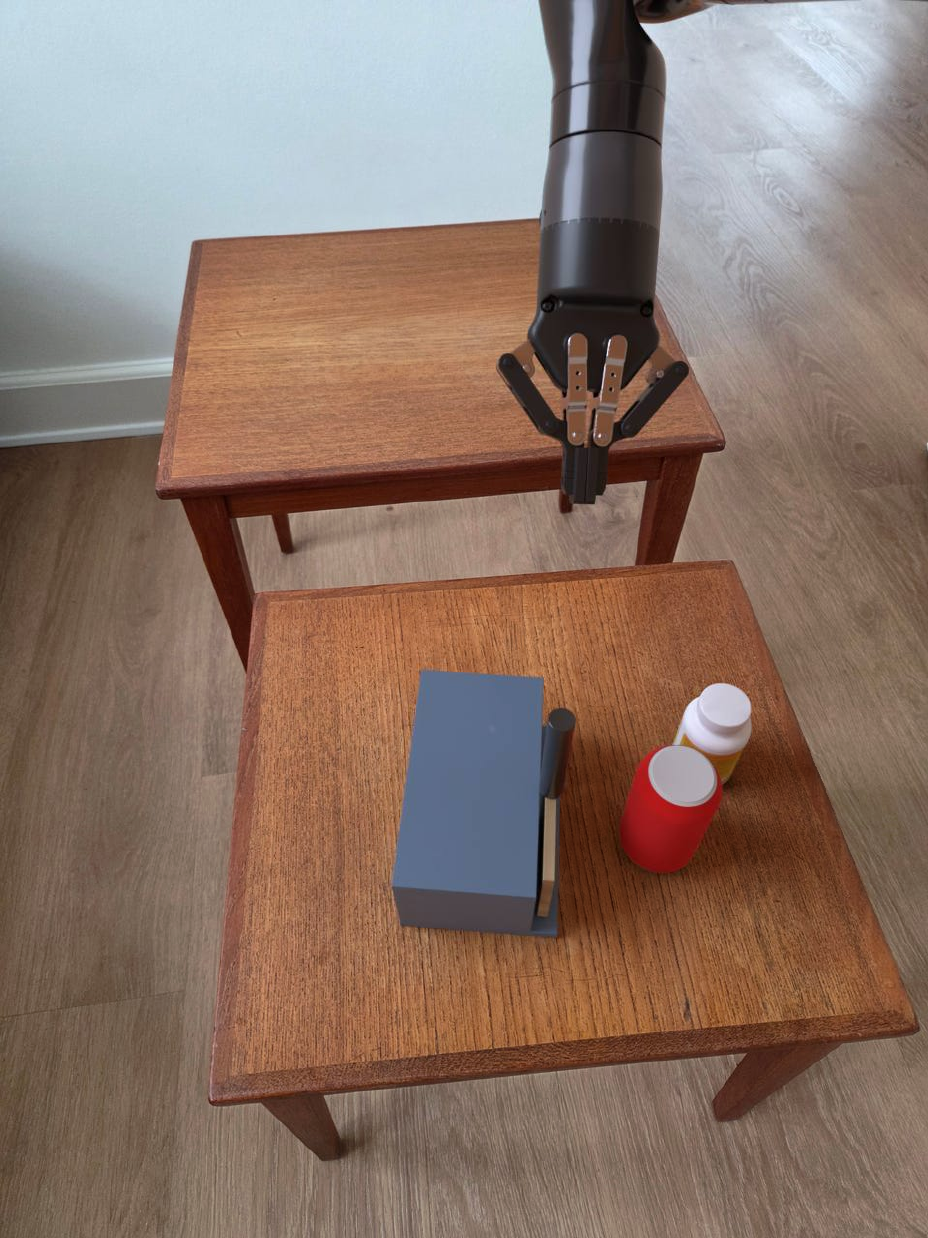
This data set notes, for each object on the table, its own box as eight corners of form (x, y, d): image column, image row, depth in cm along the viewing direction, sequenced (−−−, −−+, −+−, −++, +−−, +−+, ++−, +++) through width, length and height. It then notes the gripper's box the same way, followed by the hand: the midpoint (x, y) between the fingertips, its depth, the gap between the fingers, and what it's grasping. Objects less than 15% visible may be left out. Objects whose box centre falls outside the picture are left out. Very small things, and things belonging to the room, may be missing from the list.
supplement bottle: (737, 791, 72) (769, 734, 64) (673, 792, 72) (697, 735, 64) (724, 734, 75) (753, 674, 67) (663, 736, 75) (685, 675, 67)
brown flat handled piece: (556, 814, 69) (576, 700, 55) (554, 917, 64) (575, 821, 50) (534, 812, 70) (548, 698, 55) (530, 915, 65) (544, 818, 50)
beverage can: (670, 893, 67) (702, 831, 57) (602, 848, 69) (622, 781, 59) (706, 834, 70) (743, 765, 60) (640, 792, 72) (665, 720, 62)
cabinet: (560, 731, 76) (568, 678, 69) (556, 938, 65) (565, 900, 58) (426, 722, 76) (421, 669, 69) (400, 925, 66) (391, 886, 59)
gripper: (500, 206, 50) (487, 503, 53) (721, 217, 51) (695, 510, 54) (492, 238, 57) (481, 497, 61) (685, 247, 58) (664, 504, 61)
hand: (582, 503), depth 57 cm, fingers closed
